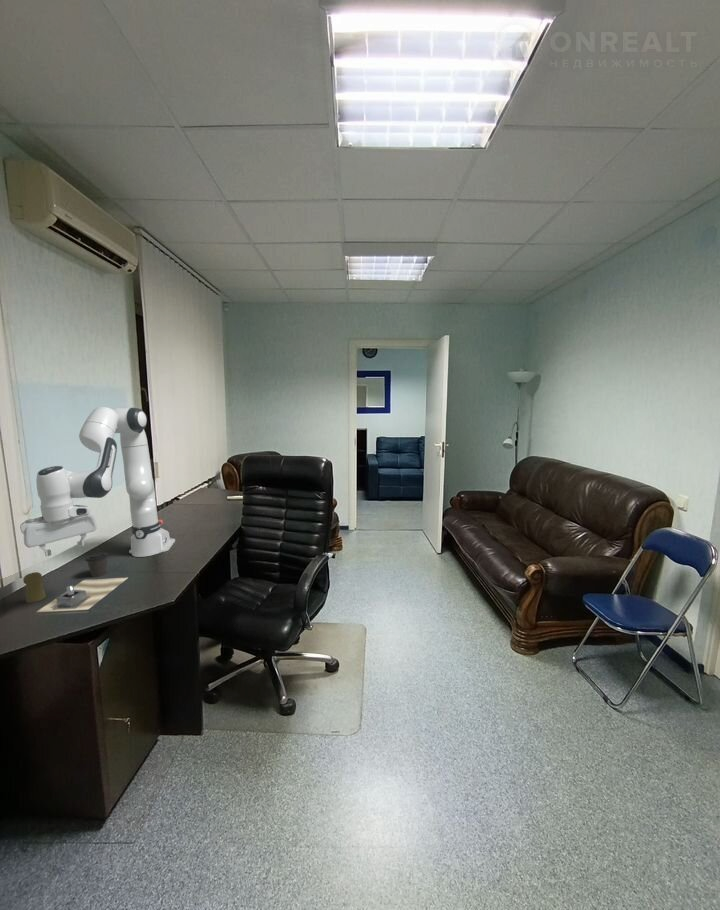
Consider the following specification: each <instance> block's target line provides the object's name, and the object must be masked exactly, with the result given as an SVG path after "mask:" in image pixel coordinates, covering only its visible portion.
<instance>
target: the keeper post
mask: <svg viewBox="0 0 720 910" xmlns="http://www.w3.org/2000/svg"><path fill="white" fill-rule="evenodd" d="M65 588H66V589H65V590H66V592H67V595H68V597H72V596H74V595H75V593H74V585H73V584H71V585H68V586H66V587H65ZM86 597H87V598H86V599H85V600H83V601H81V602H79V603H78V604H76V605H74V606H73V607H64V606H56V607H54V608H53V610H60V609H76V608H77V607H79V606H80V605H81V604H83V603H84V602H85V601H87V600H88V599H89V598H90V597H91V596H86Z"/></svg>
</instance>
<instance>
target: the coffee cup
mask: <svg viewBox="0 0 720 910" xmlns="http://www.w3.org/2000/svg"><path fill="white" fill-rule="evenodd" d="M108 557H109V553H108V552H105V551H104V552H95V553H92V554H90V555H88V556H87V557H85V559H84V560H85V561H86V562H87V567H88V568H89V572H90V576H91V577H92V578H98V577H102V576H105V575H106V574H108Z"/></svg>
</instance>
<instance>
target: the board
mask: <svg viewBox="0 0 720 910" xmlns="http://www.w3.org/2000/svg"><path fill="white" fill-rule="evenodd" d="M126 580H128V577H115V578H114V577H113V578H112V577H111V578H97V579H95V578H94V579H93V578H92V579H91V578H90V579H83V580H81V581H80V582H78V583H77V584H76V585H73V587H74V590H83V591H86V596H91V597H90V598H89V599H88V600H87V601H85V602H84V603H83V604H81V605H80V606H79V607H77V608H76V609H60V610H53V608H54V607H56V606H57V600H56V598H55V599H53V600H52V601H51V602H49V603H47V604H46V605H44V606H43V607H41V608H39V609H38V610H37V611H36V613H35V616H48V615H49V616H51V615H52V616H53V615H66V614H69V615H71V614H86V613H87V614H88V613H90V612H91V610H89V609H91V608H92V607H94V606H95V605H96V604H97V603H99V601H101V600H102V599H104V598H105V597H106V596H108V595H109V593H111V592H112V591H114V590H115V589H116V588H117V587H119V586H120V585H121V584H122V583H124V582H125V581H126ZM65 593H67V591H65V592H64V593H62V594H61V595H63V594H65Z"/></svg>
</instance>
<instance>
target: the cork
mask: <svg viewBox="0 0 720 910" xmlns="http://www.w3.org/2000/svg"><path fill="white" fill-rule="evenodd" d="M42 579H43V576H42V573H40V572H38V571H37V572H35V571H34V572H29V573H27V574H26V575H24V576H23V583H24V584H25V602H26V603H29V604H31V603H35V602H39V601H41V600H43V599H45V598H46V597H47V594H46V592H45V589H44V586H43V584H42Z"/></svg>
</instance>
